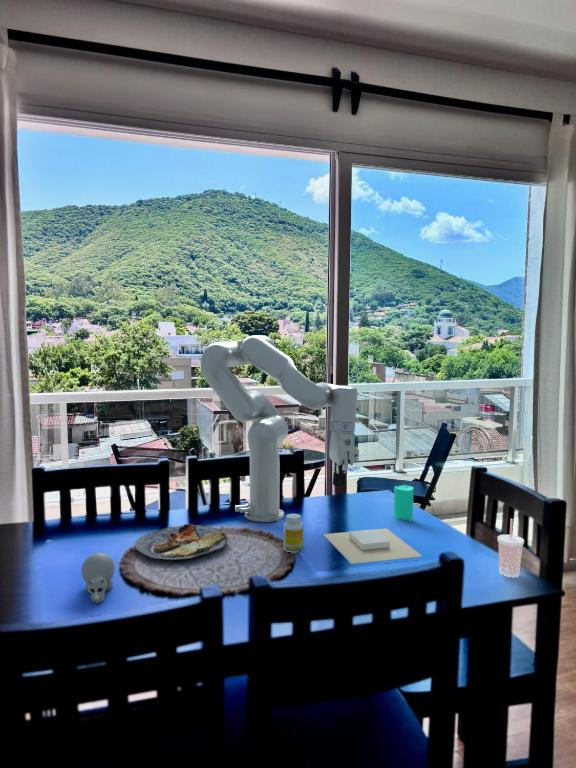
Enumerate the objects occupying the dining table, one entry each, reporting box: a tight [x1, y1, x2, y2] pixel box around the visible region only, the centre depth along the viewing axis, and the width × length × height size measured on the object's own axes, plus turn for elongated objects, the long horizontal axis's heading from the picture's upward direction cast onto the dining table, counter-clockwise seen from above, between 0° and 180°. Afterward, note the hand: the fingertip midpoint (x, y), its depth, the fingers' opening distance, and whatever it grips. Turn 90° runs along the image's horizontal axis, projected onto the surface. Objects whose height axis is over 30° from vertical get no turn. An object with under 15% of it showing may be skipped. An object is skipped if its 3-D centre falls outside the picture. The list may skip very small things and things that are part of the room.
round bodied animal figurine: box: [80, 552, 116, 604], centre depth 130 cm, size 7×12×8 cm, turn 13°
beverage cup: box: [497, 518, 525, 579], centre depth 142 cm, size 6×6×14 cm
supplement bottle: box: [282, 513, 304, 554], centre depth 157 cm, size 5×5×10 cm
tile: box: [348, 529, 390, 551], centre depth 160 cm, size 8×2×10 cm
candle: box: [393, 484, 415, 523], centre depth 183 cm, size 6×6×12 cm
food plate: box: [134, 523, 229, 561], centre depth 159 cm, size 25×23×4 cm
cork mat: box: [322, 528, 423, 565], centre depth 159 cm, size 20×22×1 cm
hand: (338, 485), depth 177 cm, fingers closed
